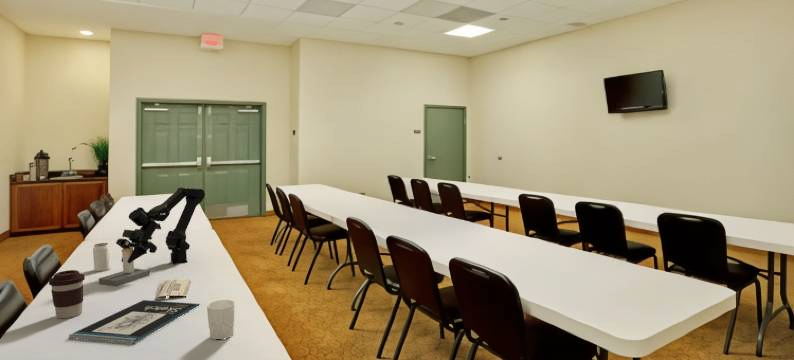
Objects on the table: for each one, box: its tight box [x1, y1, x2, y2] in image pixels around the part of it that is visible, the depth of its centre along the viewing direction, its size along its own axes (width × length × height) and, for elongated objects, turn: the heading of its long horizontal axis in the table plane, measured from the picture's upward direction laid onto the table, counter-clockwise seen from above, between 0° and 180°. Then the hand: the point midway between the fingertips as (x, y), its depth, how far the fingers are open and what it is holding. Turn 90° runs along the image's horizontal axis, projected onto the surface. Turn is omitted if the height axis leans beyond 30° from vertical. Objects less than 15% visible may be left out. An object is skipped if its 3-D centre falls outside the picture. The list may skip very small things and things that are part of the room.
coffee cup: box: [48, 269, 86, 319], centre depth 154 cm, size 10×10×15 cm
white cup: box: [206, 299, 236, 340], centre depth 138 cm, size 8×8×10 cm
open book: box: [155, 278, 192, 301], centre depth 180 cm, size 23×12×2 cm, turn 19°
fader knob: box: [121, 248, 135, 273], centre depth 195 cm, size 3×3×10 cm
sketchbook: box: [68, 299, 201, 346], centre depth 150 cm, size 23×32×2 cm
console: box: [98, 267, 150, 287], centre depth 194 cm, size 16×10×2 cm, turn 161°
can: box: [92, 242, 112, 272], centre depth 209 cm, size 6×6×12 cm
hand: (125, 262), depth 194 cm, fingers closed on fader knob, 3 cm apart
